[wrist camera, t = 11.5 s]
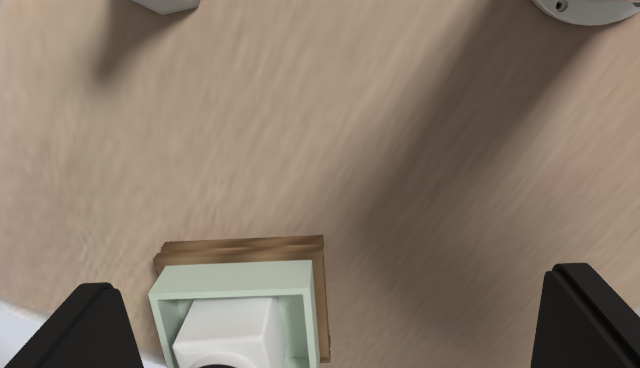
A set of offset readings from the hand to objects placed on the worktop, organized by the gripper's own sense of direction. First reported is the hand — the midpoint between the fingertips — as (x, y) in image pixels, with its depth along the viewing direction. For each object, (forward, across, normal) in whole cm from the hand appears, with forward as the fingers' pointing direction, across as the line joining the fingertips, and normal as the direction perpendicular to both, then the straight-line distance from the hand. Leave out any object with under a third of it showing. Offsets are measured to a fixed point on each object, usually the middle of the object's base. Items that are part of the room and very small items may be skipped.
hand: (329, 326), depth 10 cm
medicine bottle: (+24, +10, +20) cm, 33 cm away
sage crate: (+25, +10, +20) cm, 33 cm away
